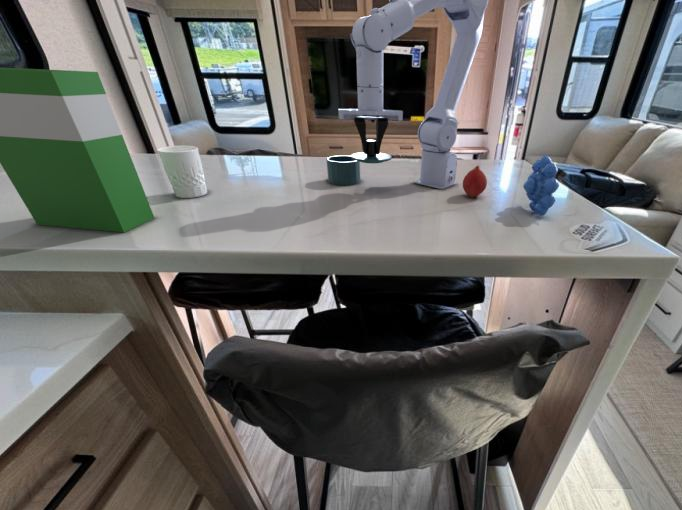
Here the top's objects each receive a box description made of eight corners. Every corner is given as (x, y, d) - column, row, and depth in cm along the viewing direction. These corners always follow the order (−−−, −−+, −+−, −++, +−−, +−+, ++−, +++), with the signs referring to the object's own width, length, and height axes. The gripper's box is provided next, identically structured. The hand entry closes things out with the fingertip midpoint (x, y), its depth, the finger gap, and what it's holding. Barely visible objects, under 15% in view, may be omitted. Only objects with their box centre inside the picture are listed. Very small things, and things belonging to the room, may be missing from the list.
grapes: (508, 203, 82) (519, 151, 75) (534, 204, 82) (548, 151, 76) (526, 221, 72) (541, 162, 65) (556, 221, 73) (574, 163, 66)
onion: (456, 196, 86) (460, 163, 81) (474, 194, 88) (479, 161, 83) (469, 203, 81) (474, 168, 77) (488, 200, 83) (494, 167, 79)
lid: (392, 157, 86) (392, 138, 83) (390, 165, 78) (391, 144, 75) (354, 155, 86) (353, 136, 83) (348, 164, 78) (347, 143, 75)
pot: (362, 177, 98) (361, 156, 94) (357, 186, 90) (357, 162, 87) (331, 176, 98) (330, 154, 94) (325, 184, 90) (323, 161, 87)
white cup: (164, 196, 78) (148, 149, 72) (193, 187, 84) (180, 144, 78) (189, 201, 75) (174, 153, 70) (217, 192, 82) (205, 147, 76)
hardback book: (37, 224, 62) (-58, 66, 48) (74, 211, 68) (-1, 67, 54) (124, 232, 60) (51, 71, 47) (154, 218, 66) (97, 71, 53)
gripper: (336, 86, 69) (341, 156, 77) (405, 89, 71) (403, 157, 79) (337, 85, 75) (340, 150, 82) (400, 87, 77) (398, 151, 85)
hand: (371, 153), depth 81 cm, fingers closed on lid, 2 cm apart
